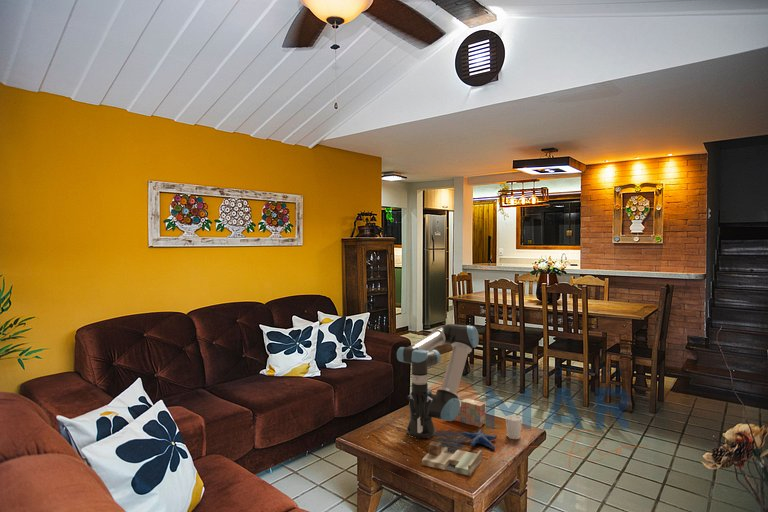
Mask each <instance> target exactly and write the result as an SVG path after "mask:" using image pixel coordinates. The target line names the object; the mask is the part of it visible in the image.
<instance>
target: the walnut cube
mask: <svg viewBox="0 0 768 512" xmlns="http://www.w3.org/2000/svg"><path fill="white" fill-rule="evenodd" d="M441 446H442V442H439V441H433V440H432V441H431V442H430V443H429V444H428V453H429V454H430V455H435V456H438V455H439V454H440V453H441Z"/></svg>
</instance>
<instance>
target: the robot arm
mask: <svg viewBox="0 0 768 512" xmlns="http://www.w3.org/2000/svg"><path fill="white" fill-rule="evenodd" d="M479 339H480V338H479V332H478V330H477V327H475V326H474V325H469V324H467V325H466V324H464V325H463V324H454V323H448V324H444V325H441V326H438V327H436V328H434V329H433V330H432V331H431V332H430V334H428V335H426V336H425V337H423V338H421V339H420V340H417V341H416V342H415V343H412V344H411V345H409V346H407V347H405V346H400V347H399V348H398V349H397V351H396V359H397V361H399V362H401V363H405V364H411V392H410V394H409V395H407V396H406V399H407V400H408V403H409V420H408V421H409V422H408V424H407V428H406V434H407V433H408V434H409V435H410V436H413V437H416V438H415V439H417V438H427V439H429V438H428V437H431V438H433V437H435V435H436V427H435V425H434V422H433V418H434V419H438V420H442V421H447V422H452V421H455V420H454V419H455V418H456V417H457V415H458V413H459V410H460V402H461V400H459V395H458V393H457V392H458V390H459V386H460V383H461V379H462V375H463V371H464V369H465V365H466V361H467V358H468V355H469V353H472V351H473V348H476V347H477V346H478V345H479V341H480V340H479ZM442 345H451V347H452V350H451V354H450V357H449V361H448V363H447V366H446V370H445V373H444V375H443V376H444V377H443V380H442V383H441V387H440V388H438V389H437V390H436V393H435V394H434V393H433V392H432V390H431V389H429V388H428V385H429V384H428V382H429V381H428V369H429V368H431V367H434V366H436V365H439V363H440V362H441V359H442V356H441V353H440V351H438V350H437V349H435V348H437V347H438V346H442ZM408 434H407V435H408ZM409 435H408V436H409ZM410 436H409V437H410ZM432 436H433V437H432Z"/></svg>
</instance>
